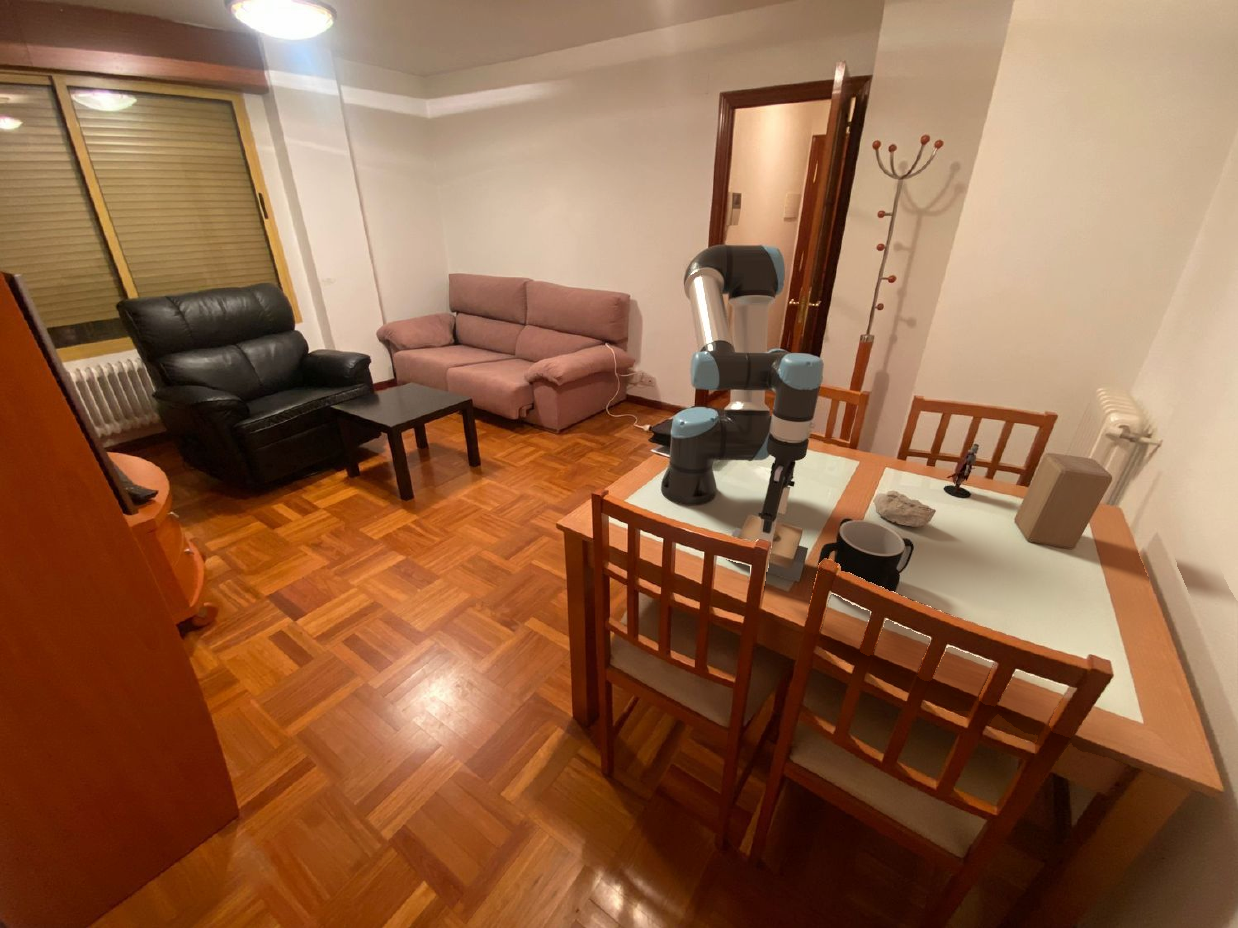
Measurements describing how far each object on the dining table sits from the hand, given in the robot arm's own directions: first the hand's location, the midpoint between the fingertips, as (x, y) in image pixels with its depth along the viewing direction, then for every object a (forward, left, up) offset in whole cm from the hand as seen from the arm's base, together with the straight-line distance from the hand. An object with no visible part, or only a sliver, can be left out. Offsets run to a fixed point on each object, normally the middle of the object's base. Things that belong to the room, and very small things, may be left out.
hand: (772, 526), depth 106 cm
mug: (+19, +3, -10) cm, 22 cm away
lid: (0, 0, -5) cm, 5 cm away
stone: (+26, +34, -10) cm, 44 cm away
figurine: (+40, +58, -10) cm, 71 cm away
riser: (0, 0, -10) cm, 10 cm away
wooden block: (+58, +44, -10) cm, 73 cm away
